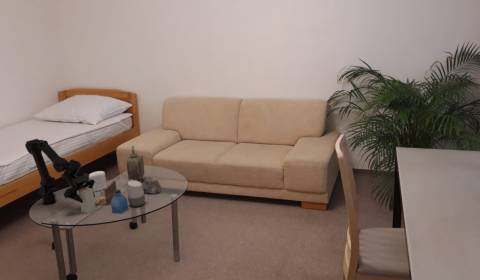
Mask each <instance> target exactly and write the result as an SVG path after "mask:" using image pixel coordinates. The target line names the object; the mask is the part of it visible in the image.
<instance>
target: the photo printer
mask: <svg viewBox="0 0 480 280" xmlns="http://www.w3.org/2000/svg"><path fill="white" fill-rule="evenodd" d="M105 173H106V172H105V171H102V170H100V171H99V170H98V171H94V172H91V173H89V174H88V176H89V178H88V180H91V179H93V180H94V181H95V183H94V185H93V191H94V193H95V192H99V191H103V189H105V188H106V187H107V186H108V185H107V180H106V179H107V178H106V174H105Z"/></svg>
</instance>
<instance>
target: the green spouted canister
mask: <svg viewBox="0 0 480 280" xmlns="http://www.w3.org/2000/svg"><path fill="white" fill-rule="evenodd" d="M131 152H132V153H131ZM131 152H130V154H129V155H128V156H127V158H126V163H125V164H126V173H127V178H128V180H129V181H132V180H134V181H136V180H142V178H143V177H144V176H145V163H144V157H143V156H142V155H140V154H138V153H136V152H135V146H134V145H132V146H131Z"/></svg>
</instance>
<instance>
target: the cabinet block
mask: <svg viewBox="0 0 480 280" xmlns="http://www.w3.org/2000/svg"><path fill="white" fill-rule="evenodd" d="M77 194H78V195H79V197H80V198H81V199H82V201H83V203H81V202H79V204H80V211H81V212H82V213H86V214H89V213H91V212H93V211H95V210H96V209H97V207H96V205H95V201H96V200H95V197H94V194H95V193H94V194H93V189H92V188H83V189H81V190H78V191H77Z"/></svg>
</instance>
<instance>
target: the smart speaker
mask: <svg viewBox="0 0 480 280" xmlns="http://www.w3.org/2000/svg"><path fill="white" fill-rule="evenodd" d="M127 202H128V205H129V206H131V207H133V208H134V207H135V208H136V207H141V206H142V205H144V204H145V202H146V197H145V192H143V188H142V182H139V181H138V180H133V179H132V180H129V181H128V182H127Z"/></svg>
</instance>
